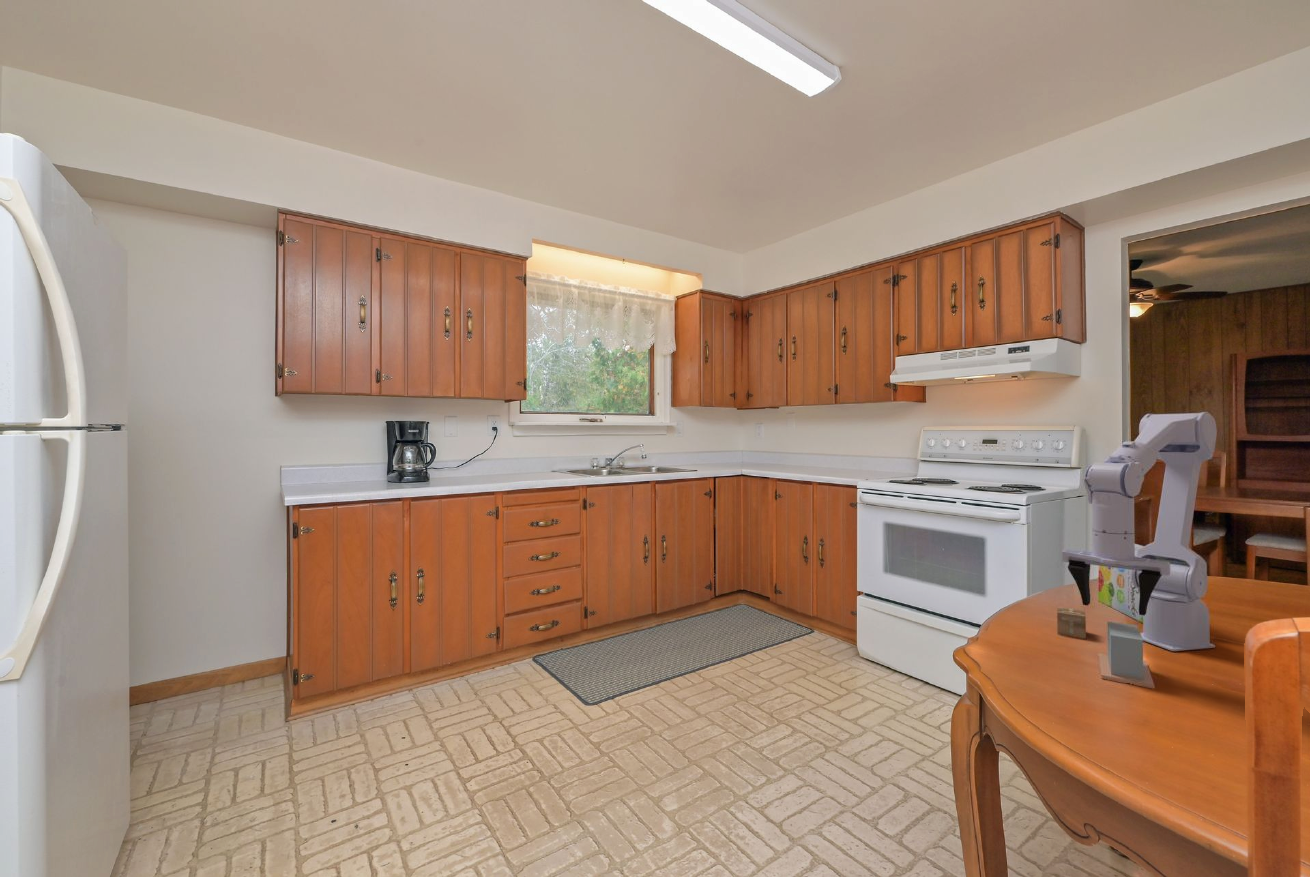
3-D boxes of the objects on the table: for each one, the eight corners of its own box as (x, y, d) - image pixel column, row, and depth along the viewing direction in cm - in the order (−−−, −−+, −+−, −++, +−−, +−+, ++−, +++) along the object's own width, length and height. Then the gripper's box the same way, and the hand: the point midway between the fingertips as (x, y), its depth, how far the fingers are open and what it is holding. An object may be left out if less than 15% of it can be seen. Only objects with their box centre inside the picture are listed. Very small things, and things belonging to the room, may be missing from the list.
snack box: (1189, 634, 110) (1189, 558, 110) (1157, 632, 112) (1156, 557, 111) (1123, 601, 131) (1122, 538, 131) (1096, 600, 132) (1095, 537, 132)
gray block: (1111, 674, 92) (1110, 635, 92) (1107, 657, 98) (1107, 621, 98) (1143, 680, 89) (1142, 640, 89) (1137, 663, 96) (1137, 625, 96)
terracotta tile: (1098, 656, 100) (1098, 652, 100) (1145, 664, 97) (1145, 660, 97) (1101, 678, 92) (1101, 674, 92) (1154, 688, 88) (1154, 684, 88)
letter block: (1057, 627, 115) (1057, 605, 115) (1085, 632, 112) (1084, 609, 112) (1057, 634, 111) (1057, 611, 111) (1085, 639, 109) (1085, 616, 109)
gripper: (1056, 529, 100) (1057, 604, 100) (1165, 539, 89) (1166, 624, 89) (1066, 524, 104) (1067, 596, 105) (1171, 533, 94) (1172, 614, 94)
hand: (1113, 608), depth 97 cm, fingers open, 7 cm apart
